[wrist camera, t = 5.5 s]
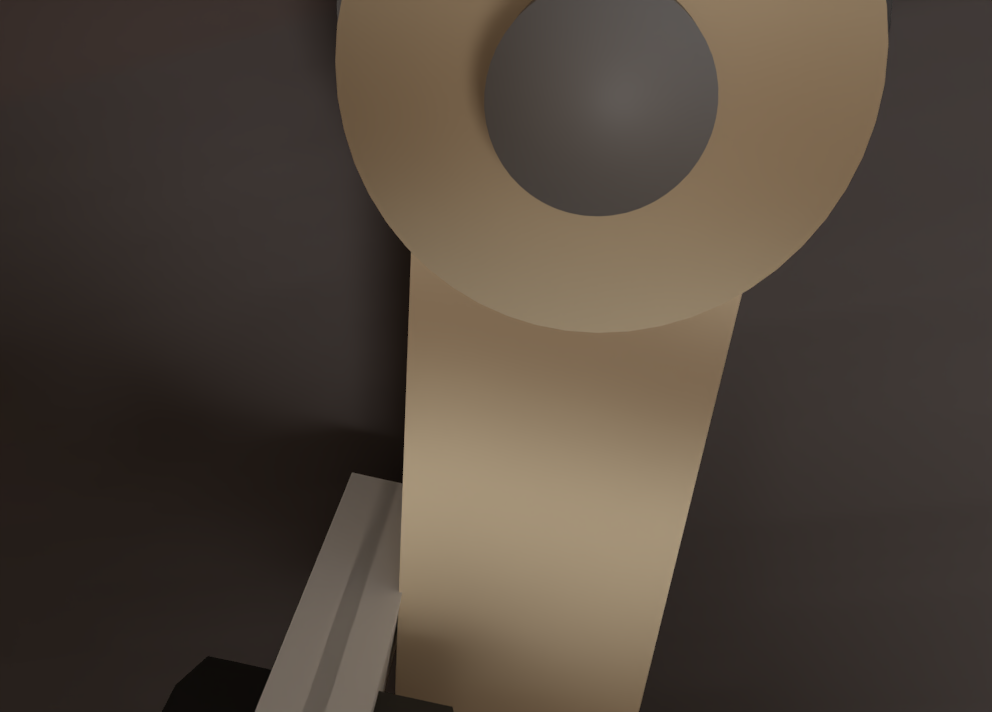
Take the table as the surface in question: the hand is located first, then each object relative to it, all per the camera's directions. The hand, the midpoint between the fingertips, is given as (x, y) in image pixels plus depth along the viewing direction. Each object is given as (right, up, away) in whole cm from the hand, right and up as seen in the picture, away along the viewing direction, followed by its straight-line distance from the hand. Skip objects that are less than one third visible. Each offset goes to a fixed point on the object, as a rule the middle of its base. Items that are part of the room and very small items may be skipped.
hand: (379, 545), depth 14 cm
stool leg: (+3, 0, 0) cm, 3 cm away
